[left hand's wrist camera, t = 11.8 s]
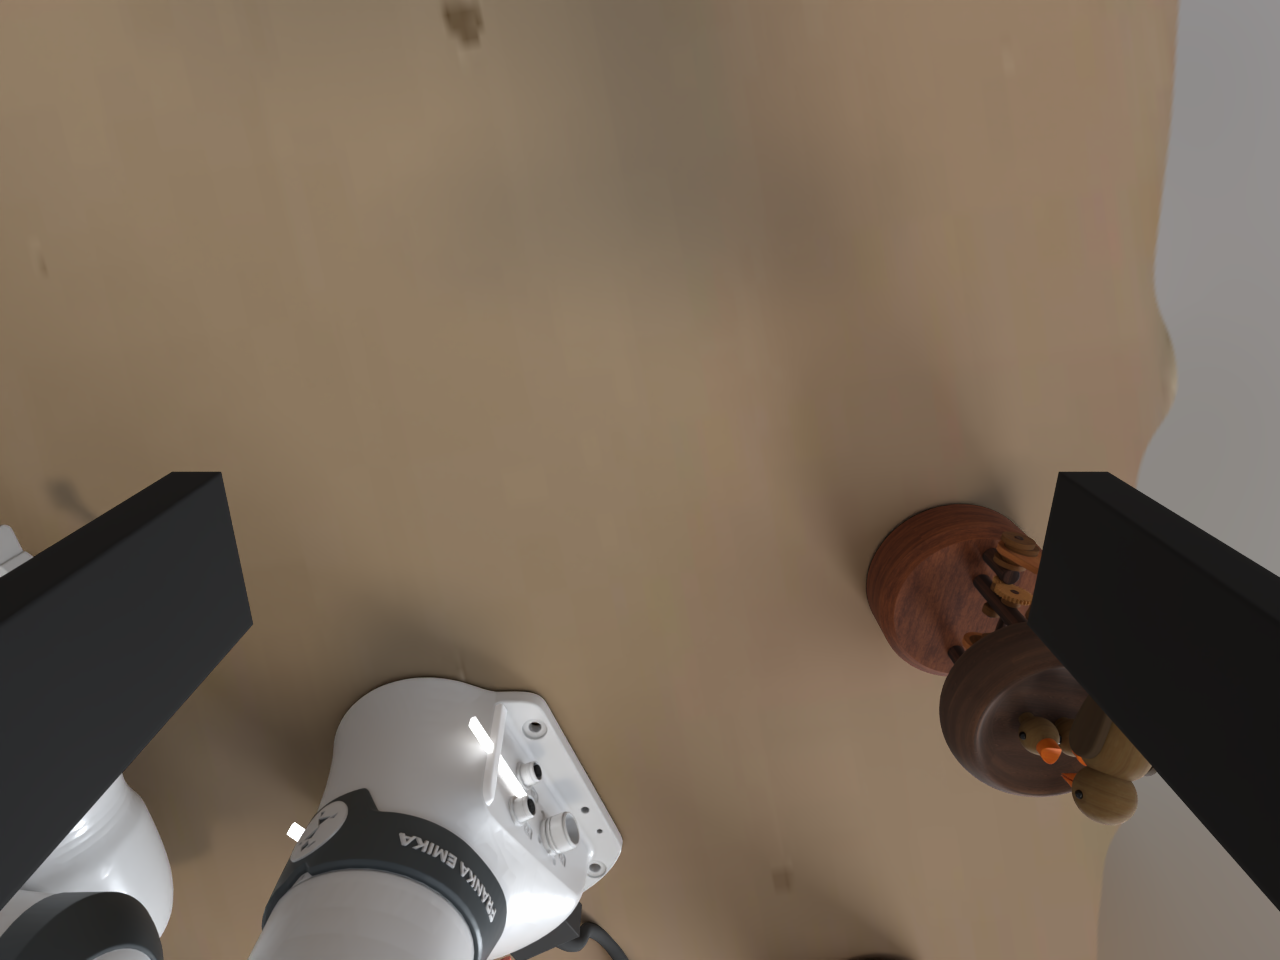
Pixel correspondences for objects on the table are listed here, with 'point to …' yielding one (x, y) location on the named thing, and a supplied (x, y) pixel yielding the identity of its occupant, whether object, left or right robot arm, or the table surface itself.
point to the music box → (997, 662)
